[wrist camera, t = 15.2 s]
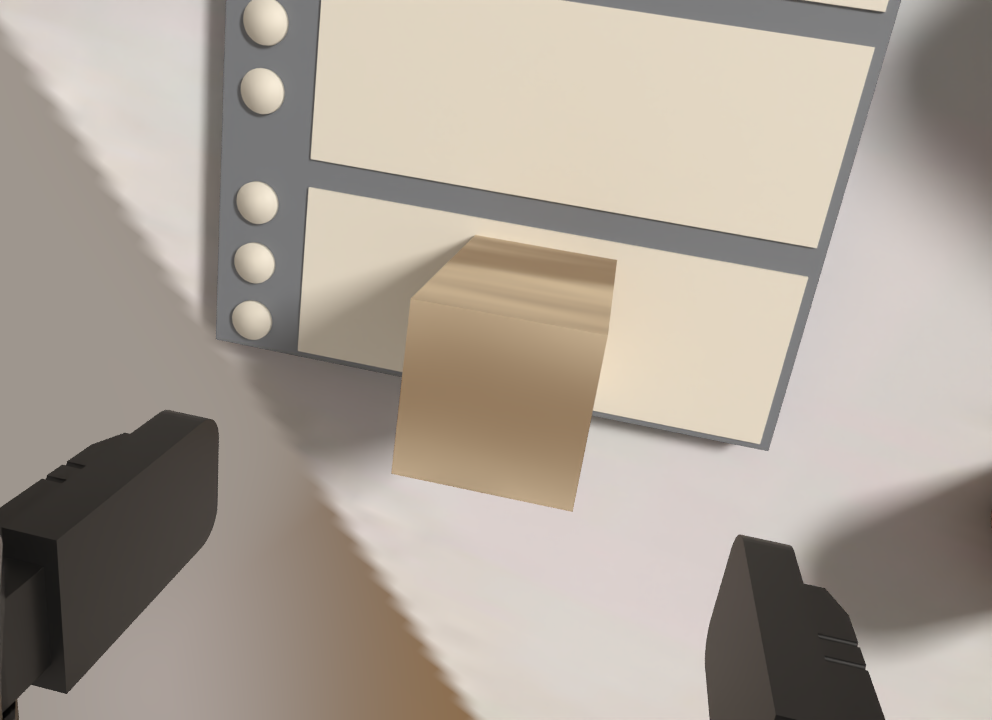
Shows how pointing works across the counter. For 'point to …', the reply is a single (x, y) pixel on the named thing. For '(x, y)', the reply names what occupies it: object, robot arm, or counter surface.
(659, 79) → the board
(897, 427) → the counter surface
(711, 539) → the counter surface
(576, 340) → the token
